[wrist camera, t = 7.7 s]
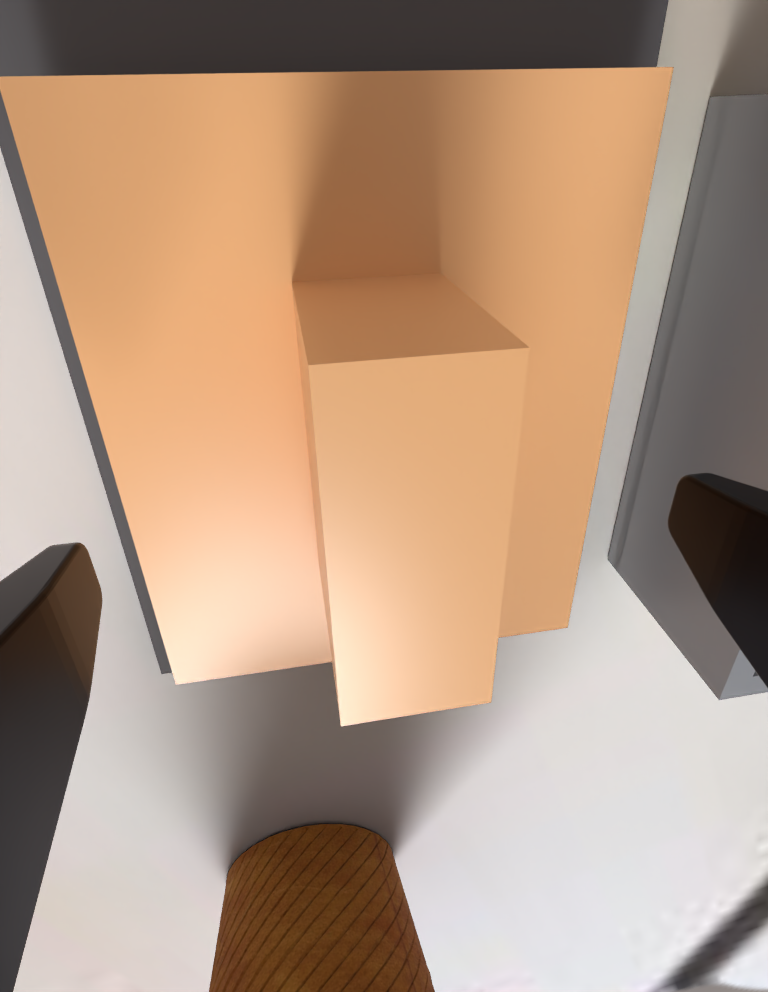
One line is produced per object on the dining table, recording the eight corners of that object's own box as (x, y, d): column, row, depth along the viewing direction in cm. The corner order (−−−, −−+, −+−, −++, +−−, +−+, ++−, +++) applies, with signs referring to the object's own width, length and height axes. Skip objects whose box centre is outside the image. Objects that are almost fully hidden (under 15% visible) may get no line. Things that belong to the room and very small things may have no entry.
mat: (653, -6, 10) (670, -11, 10) (551, 606, 18) (557, 617, 17) (-35, -11, 9) (-50, -17, 9) (164, 659, 16) (161, 673, 16)
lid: (620, 73, 11) (909, 36, 6) (542, 586, 17) (653, 769, 12) (34, 82, 9) (-199, 43, 5) (183, 635, 15) (149, 861, 11)
